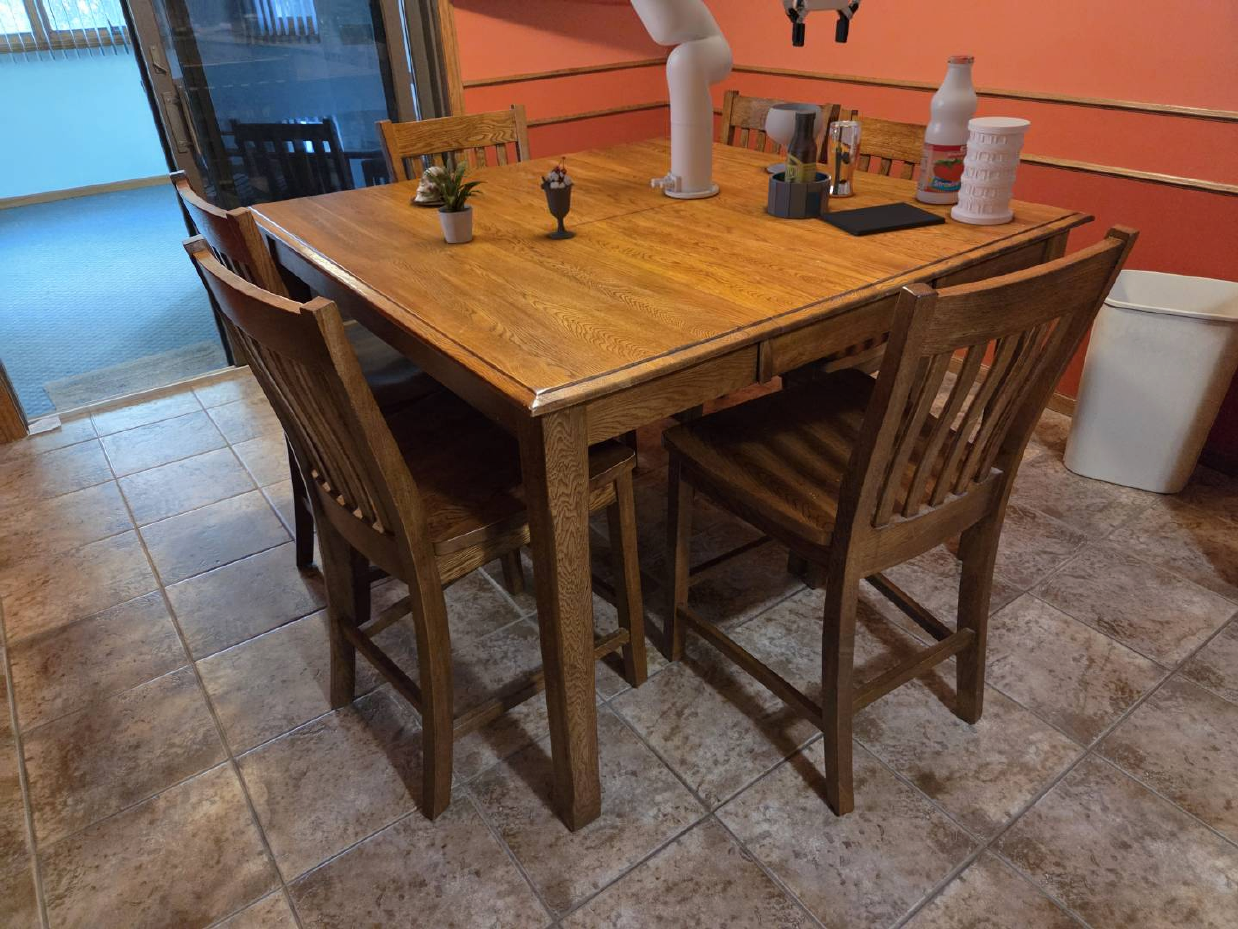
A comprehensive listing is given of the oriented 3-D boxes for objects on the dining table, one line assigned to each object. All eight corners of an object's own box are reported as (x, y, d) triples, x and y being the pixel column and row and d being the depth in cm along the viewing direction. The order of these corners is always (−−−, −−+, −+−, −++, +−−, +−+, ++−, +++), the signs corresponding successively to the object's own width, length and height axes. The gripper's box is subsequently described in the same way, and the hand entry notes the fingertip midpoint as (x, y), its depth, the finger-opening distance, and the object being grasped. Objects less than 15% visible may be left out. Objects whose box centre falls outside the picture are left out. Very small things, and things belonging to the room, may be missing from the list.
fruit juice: (940, 192, 182) (963, 52, 167) (970, 201, 175) (997, 56, 160) (906, 197, 179) (926, 56, 164) (935, 207, 172) (960, 60, 157)
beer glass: (852, 189, 187) (859, 119, 179) (856, 197, 181) (864, 125, 173) (821, 190, 188) (827, 120, 180) (825, 198, 182) (831, 126, 174)
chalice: (824, 175, 200) (830, 109, 192) (767, 177, 200) (770, 112, 192) (813, 163, 212) (818, 101, 204) (759, 165, 212) (762, 103, 204)
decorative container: (940, 218, 164) (956, 123, 155) (964, 206, 171) (981, 114, 162) (998, 228, 157) (1018, 129, 148) (1021, 214, 164) (1041, 119, 155)
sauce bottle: (779, 207, 177) (785, 108, 166) (807, 205, 177) (815, 107, 166) (786, 215, 171) (793, 114, 161) (816, 213, 171) (824, 112, 161)
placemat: (856, 236, 157) (857, 230, 156) (819, 218, 168) (819, 213, 168) (944, 223, 162) (945, 218, 161) (902, 206, 173) (903, 201, 173)
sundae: (582, 231, 167) (577, 155, 159) (570, 241, 162) (564, 162, 154) (553, 229, 169) (546, 154, 161) (540, 239, 164) (533, 161, 156)
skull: (429, 206, 185) (407, 168, 186) (418, 230, 194) (396, 194, 194) (473, 194, 192) (451, 157, 192) (460, 218, 201) (439, 182, 201)
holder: (785, 221, 167) (787, 186, 164) (757, 207, 178) (759, 174, 174) (838, 213, 170) (842, 179, 167) (808, 200, 181) (811, 167, 177)
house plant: (430, 256, 157) (415, 168, 149) (410, 238, 168) (396, 156, 159) (499, 243, 163) (489, 157, 154) (476, 227, 173) (465, 146, 164)
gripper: (855, -61, 156) (846, 39, 165) (776, -57, 151) (771, 46, 160) (879, -63, 150) (868, 42, 159) (797, -59, 145) (790, 49, 154)
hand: (819, 44), depth 159 cm, fingers open, 9 cm apart
